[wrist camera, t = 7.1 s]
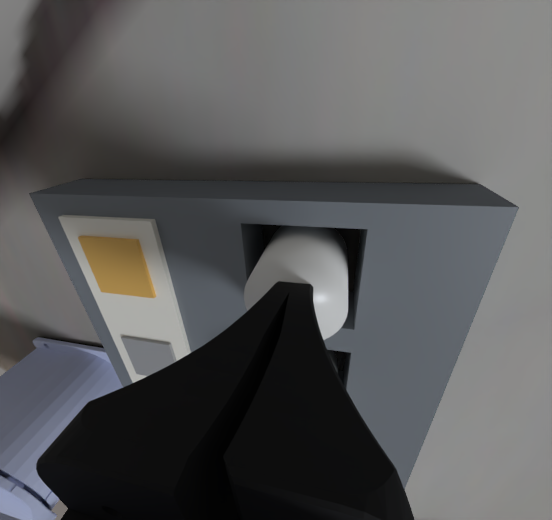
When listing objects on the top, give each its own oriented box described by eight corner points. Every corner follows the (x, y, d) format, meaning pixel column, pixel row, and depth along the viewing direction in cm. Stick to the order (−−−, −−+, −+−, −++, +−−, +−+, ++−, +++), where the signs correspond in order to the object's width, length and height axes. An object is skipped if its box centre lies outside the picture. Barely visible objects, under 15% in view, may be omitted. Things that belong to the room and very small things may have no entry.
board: (164, 398, 25) (140, 438, 22) (81, 179, 16) (18, 196, 13) (395, 446, 21) (403, 502, 18) (480, 184, 11) (527, 212, 8)
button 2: (270, 284, 15) (248, 336, 12) (266, 216, 13) (238, 255, 10) (344, 291, 14) (343, 349, 11) (351, 219, 12) (353, 263, 9)
